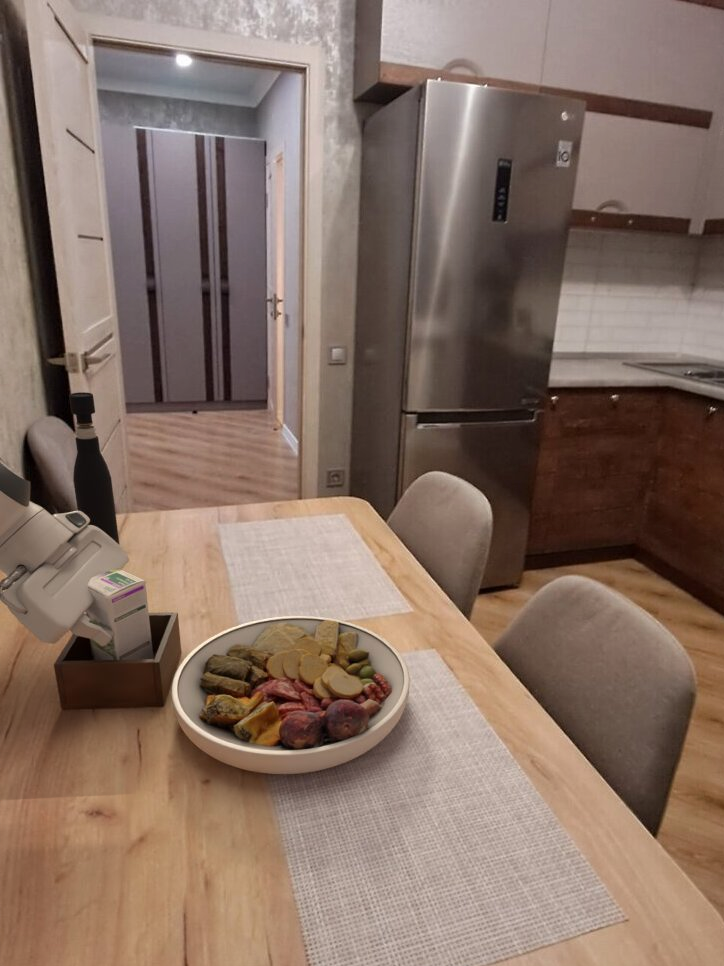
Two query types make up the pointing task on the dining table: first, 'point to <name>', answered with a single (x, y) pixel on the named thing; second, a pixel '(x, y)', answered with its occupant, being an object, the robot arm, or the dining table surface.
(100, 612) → the syrup box
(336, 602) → the dining table surface
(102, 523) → the black water bottle
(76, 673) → the box
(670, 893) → the dining table surface
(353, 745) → the bowl
